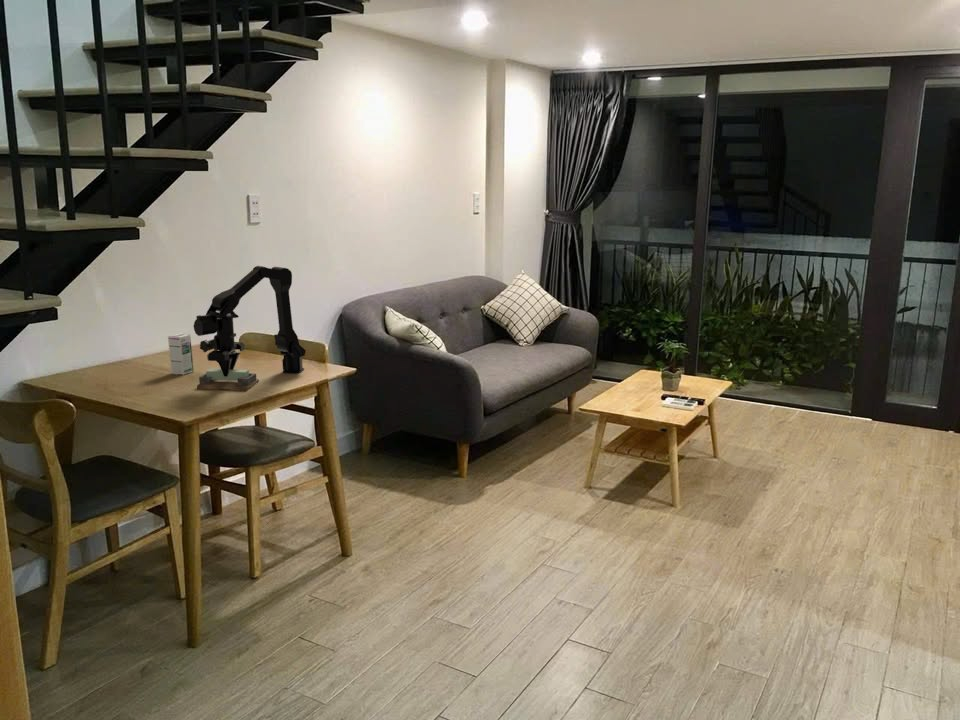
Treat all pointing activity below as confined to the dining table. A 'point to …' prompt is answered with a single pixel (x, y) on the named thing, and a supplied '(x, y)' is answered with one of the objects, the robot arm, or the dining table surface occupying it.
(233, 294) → the robot arm
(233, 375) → the slat
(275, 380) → the dining table surface
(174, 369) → the syrup box
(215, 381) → the frame
